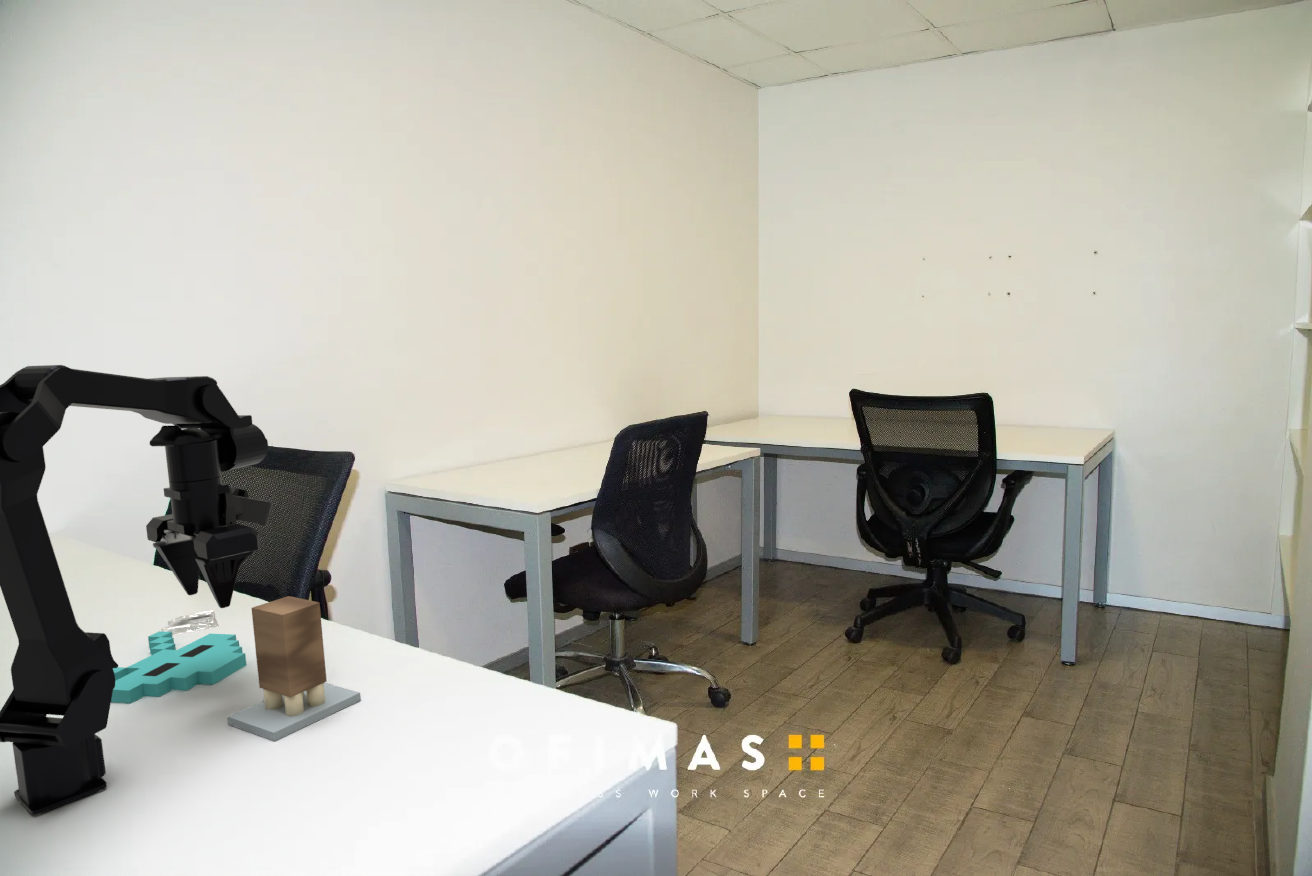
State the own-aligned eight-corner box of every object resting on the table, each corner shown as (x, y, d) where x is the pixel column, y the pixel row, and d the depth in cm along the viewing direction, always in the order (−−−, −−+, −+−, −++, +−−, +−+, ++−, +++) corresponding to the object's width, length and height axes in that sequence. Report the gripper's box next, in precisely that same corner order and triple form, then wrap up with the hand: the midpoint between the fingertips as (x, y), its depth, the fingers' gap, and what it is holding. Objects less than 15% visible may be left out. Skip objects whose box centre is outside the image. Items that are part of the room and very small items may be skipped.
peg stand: (274, 741, 97) (271, 711, 96) (227, 724, 102) (225, 696, 101) (360, 700, 107) (358, 673, 107) (314, 686, 112) (312, 661, 111)
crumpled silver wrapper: (214, 618, 143) (214, 610, 143) (219, 630, 137) (218, 621, 137) (160, 628, 139) (159, 619, 139) (163, 640, 133) (162, 631, 133)
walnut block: (290, 697, 100) (282, 615, 99) (259, 687, 103) (251, 607, 102) (326, 681, 104) (319, 602, 103) (295, 672, 107) (288, 596, 106)
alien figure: (43, 701, 111) (176, 710, 107) (41, 685, 111) (174, 693, 107) (160, 645, 131) (276, 650, 127) (159, 631, 131) (275, 636, 126)
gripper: (296, 474, 105) (307, 596, 107) (227, 463, 117) (238, 573, 119) (202, 489, 97) (216, 621, 99) (138, 476, 109) (152, 594, 111)
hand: (208, 600), depth 107 cm, fingers open, 9 cm apart
